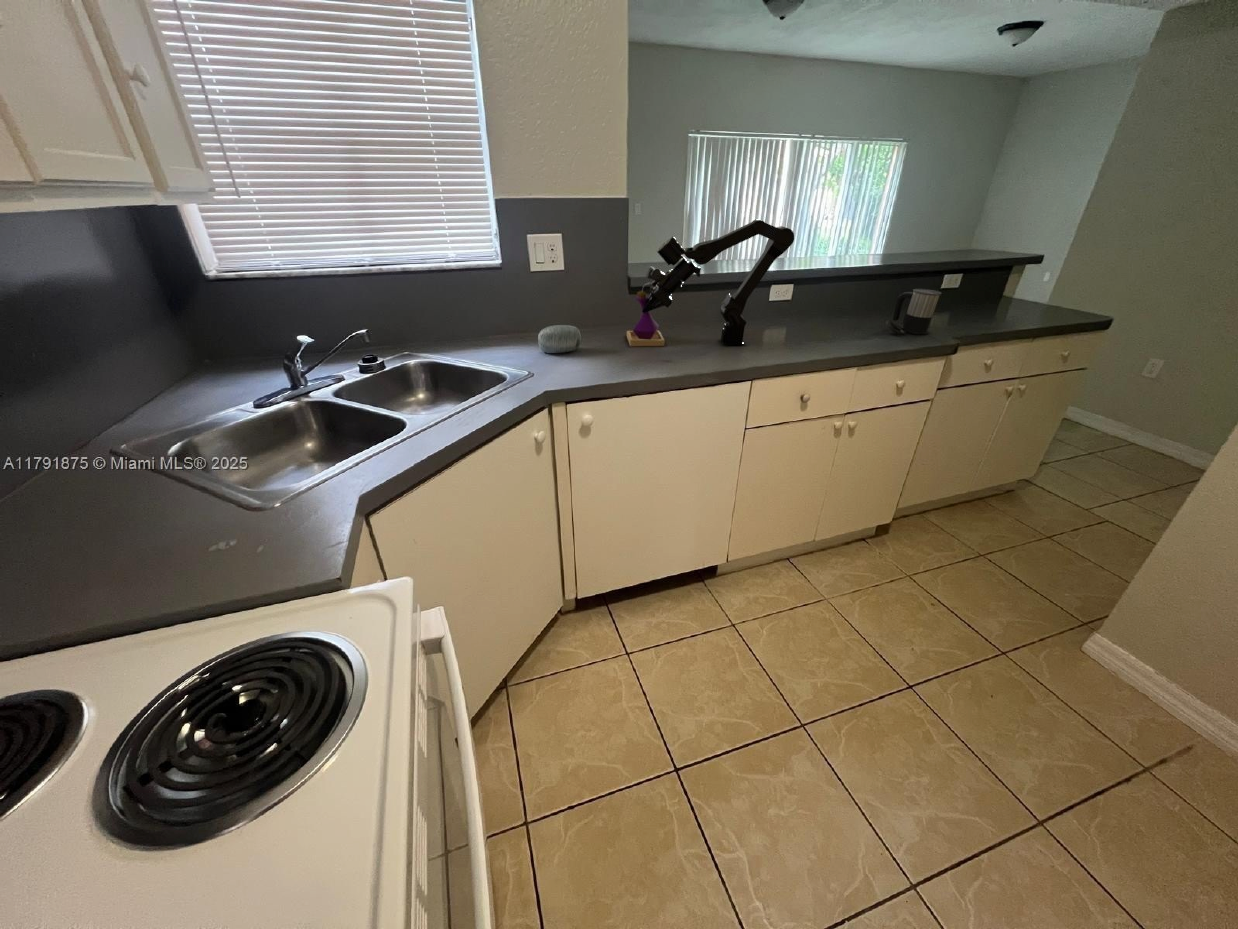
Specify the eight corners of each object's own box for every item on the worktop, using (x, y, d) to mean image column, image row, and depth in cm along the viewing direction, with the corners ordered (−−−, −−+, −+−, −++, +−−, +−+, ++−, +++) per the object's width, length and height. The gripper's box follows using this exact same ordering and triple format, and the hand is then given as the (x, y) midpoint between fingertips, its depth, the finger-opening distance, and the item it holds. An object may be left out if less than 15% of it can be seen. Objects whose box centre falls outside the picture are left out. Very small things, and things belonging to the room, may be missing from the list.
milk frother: (928, 330, 186) (942, 290, 179) (925, 340, 175) (940, 297, 167) (888, 324, 193) (899, 285, 185) (882, 333, 181) (894, 292, 174)
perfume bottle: (632, 339, 165) (632, 284, 155) (638, 333, 171) (638, 279, 161) (654, 341, 163) (655, 285, 154) (658, 334, 169) (660, 280, 160)
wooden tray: (658, 336, 173) (659, 330, 172) (664, 345, 163) (664, 340, 162) (626, 336, 172) (626, 330, 171) (630, 346, 162) (630, 340, 161)
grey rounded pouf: (579, 334, 161) (574, 311, 152) (586, 355, 156) (580, 332, 148) (540, 345, 161) (532, 323, 152) (545, 366, 156) (537, 345, 147)
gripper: (659, 253, 162) (625, 287, 168) (663, 261, 146) (626, 298, 152) (680, 278, 166) (647, 310, 172) (687, 289, 150) (650, 324, 156)
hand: (642, 310), depth 163 cm, fingers closed on perfume bottle, 3 cm apart
